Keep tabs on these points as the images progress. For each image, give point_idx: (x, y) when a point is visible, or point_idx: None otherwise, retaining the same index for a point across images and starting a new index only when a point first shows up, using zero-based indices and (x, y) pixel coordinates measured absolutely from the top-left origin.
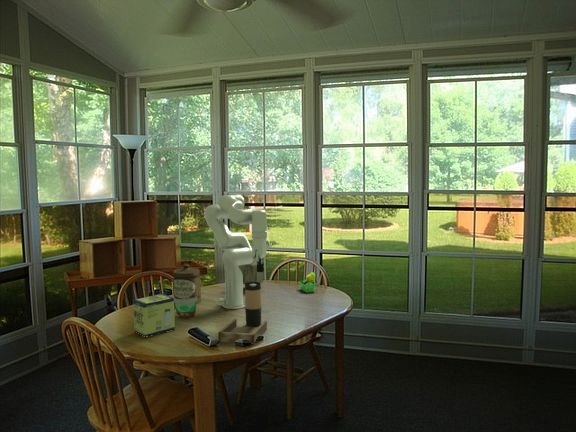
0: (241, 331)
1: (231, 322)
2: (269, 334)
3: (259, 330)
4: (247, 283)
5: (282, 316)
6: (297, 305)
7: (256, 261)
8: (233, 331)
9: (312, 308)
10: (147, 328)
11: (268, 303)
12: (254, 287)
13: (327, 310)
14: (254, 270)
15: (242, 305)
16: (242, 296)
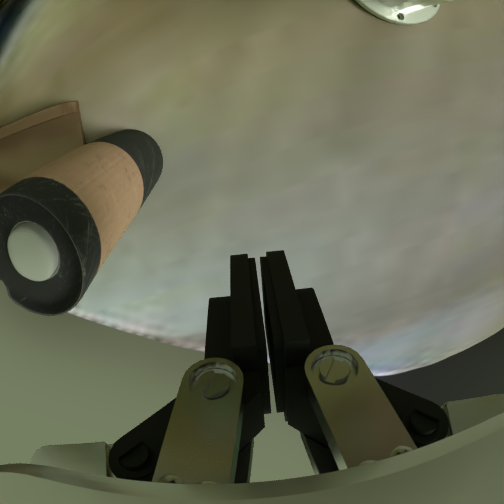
0: (40, 164)
1: (19, 126)
2: None
3: None
4: (29, 196)
5: (286, 234)
6: (438, 243)
7: (63, 447)
8: (29, 137)
9: (401, 300)
10: None
11: (459, 120)
12: (9, 282)
13: (379, 343)
14: None
15: (383, 11)
16: (421, 3)
